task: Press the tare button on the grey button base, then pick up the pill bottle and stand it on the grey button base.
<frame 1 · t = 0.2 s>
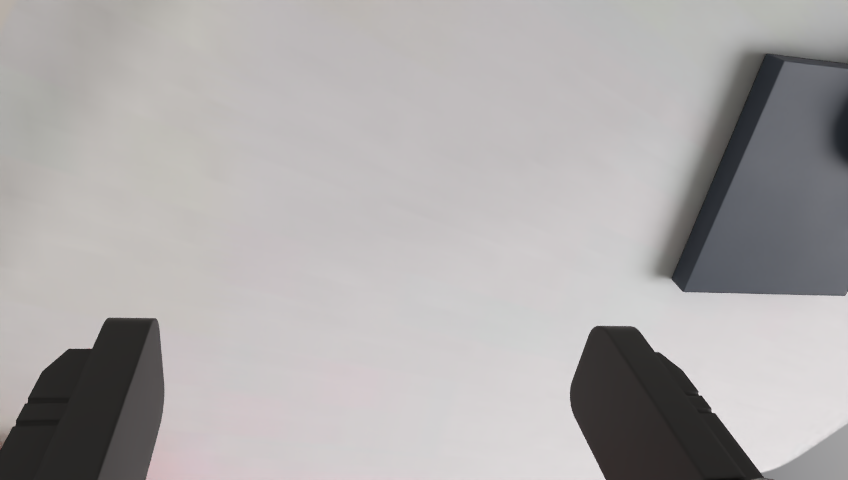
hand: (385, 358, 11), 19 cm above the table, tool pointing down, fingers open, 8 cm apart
grey button base: (801, 184, 35), on the table
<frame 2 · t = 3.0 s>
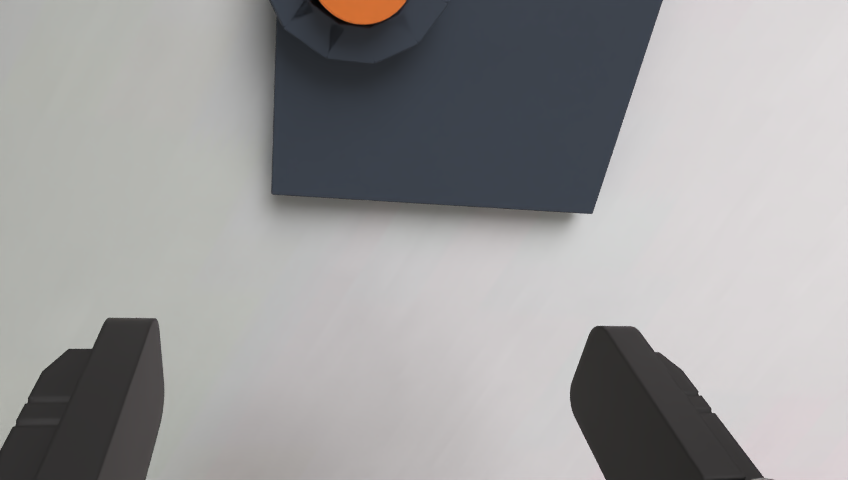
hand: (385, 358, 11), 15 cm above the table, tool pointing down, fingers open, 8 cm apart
grey button base: (460, 53, 24), on the table
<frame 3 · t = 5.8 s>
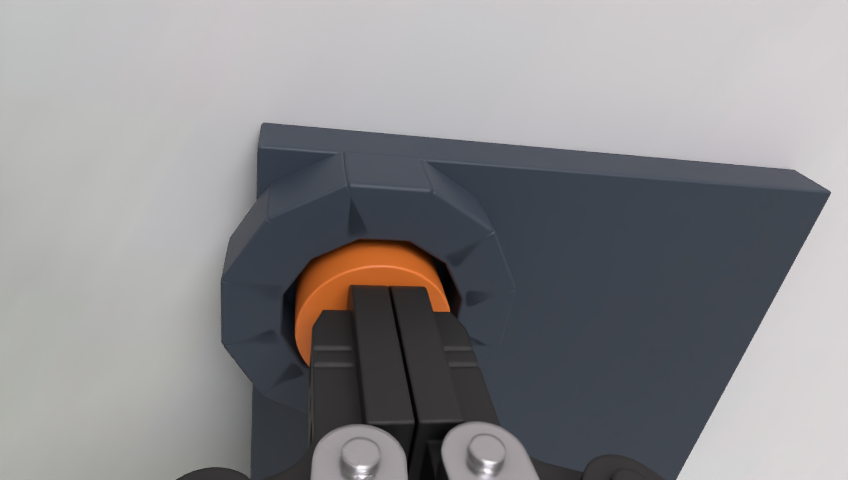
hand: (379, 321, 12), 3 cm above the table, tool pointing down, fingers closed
tare button: (371, 308, 13), point 3 cm above the table, slide at -0.6 cm, touching gripper
grey button base: (503, 338, 18), on the table
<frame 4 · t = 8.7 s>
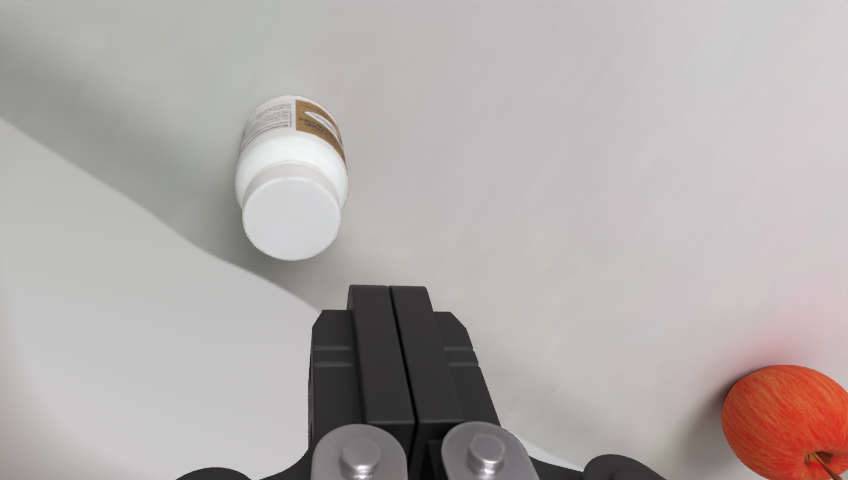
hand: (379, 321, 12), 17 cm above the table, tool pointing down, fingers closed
apple: (753, 384, 44), on the table
pill bottle: (293, 137, 28), on the table
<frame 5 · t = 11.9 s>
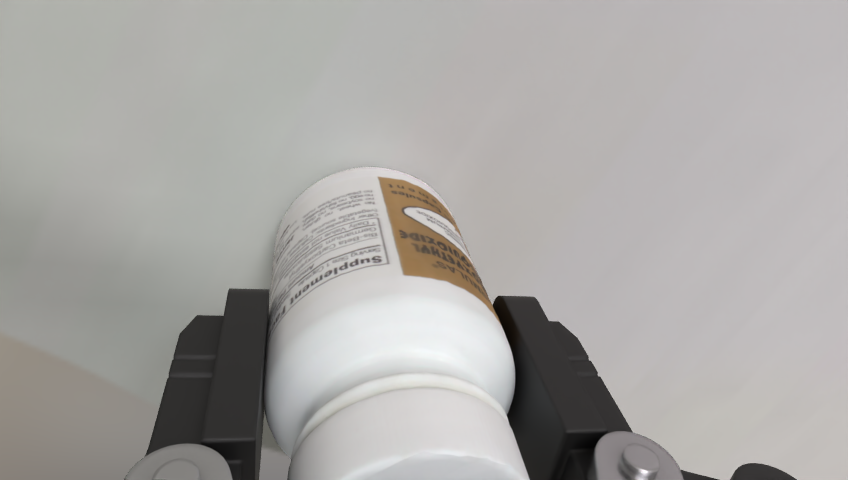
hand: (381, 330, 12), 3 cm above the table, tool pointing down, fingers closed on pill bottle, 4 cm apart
pill bottle: (367, 239, 15), on the table, touching gripper
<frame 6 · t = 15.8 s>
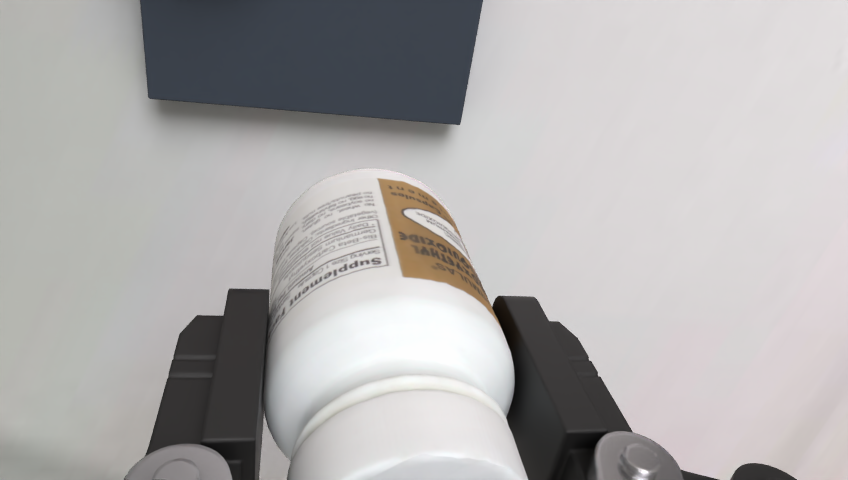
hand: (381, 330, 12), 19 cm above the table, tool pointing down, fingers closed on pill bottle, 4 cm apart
pill bottle: (366, 240, 15), point 16 cm above the table, touching gripper
when the fingers open (5 cm above the table, at t = 19.7 s): pill bottle stays where it is, resting on grey button base.
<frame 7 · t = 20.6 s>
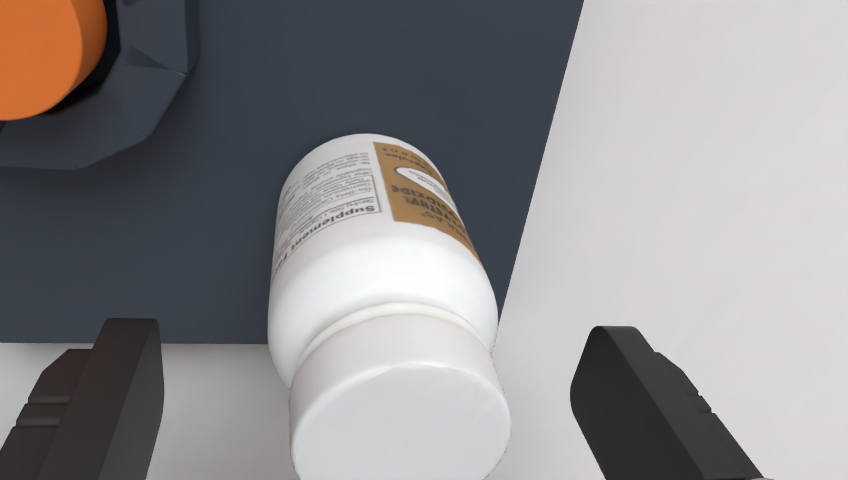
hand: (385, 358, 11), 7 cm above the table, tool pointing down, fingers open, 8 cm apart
grey button base: (270, 131, 16), on the table
pill bottle: (364, 204, 16), point 1 cm above the table, touching grey button base
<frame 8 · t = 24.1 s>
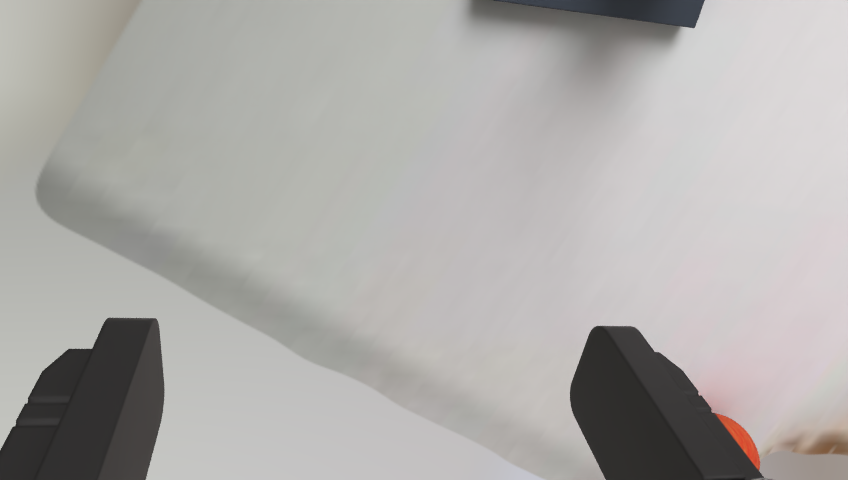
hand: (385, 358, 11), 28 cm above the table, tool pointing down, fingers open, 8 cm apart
apple: (689, 425, 60), on the table
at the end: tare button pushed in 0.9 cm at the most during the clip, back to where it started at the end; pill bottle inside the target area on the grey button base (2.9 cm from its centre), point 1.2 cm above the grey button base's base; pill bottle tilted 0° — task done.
